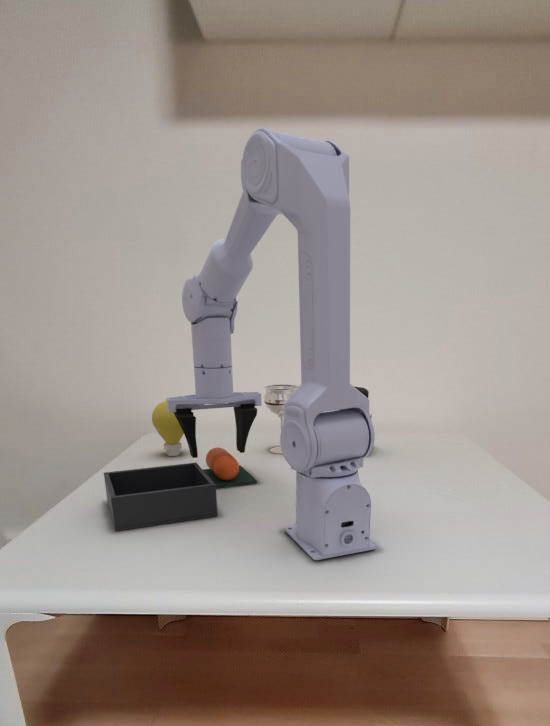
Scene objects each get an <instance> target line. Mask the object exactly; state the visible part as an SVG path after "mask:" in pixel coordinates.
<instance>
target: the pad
mask: <svg viewBox="0 0 550 726" xmlns="http://www.w3.org/2000/svg"><path fill="white" fill-rule="evenodd" d="M202 470H203V471H204V472H205V473H206V474H207V475H208V477H209V478H210V479H211V480H212V481H213V482H214V484H215V485H216V489H223V488H229V487H230V488H232V487H237V486H246V485H253V484H258V480H257V478H255V477H254V476H253V475H252V474H251V473H250V472H248V471H247V470H246V469H245V468H244V467H243V466H242V465H240V464H239V472H238V474H237V476H236V477H235V478H233V479H231V480H221V479H220V478H218V477H217V476H216V475H215V474H214V473H213V471H212V470H211V469H210V468H202Z"/></svg>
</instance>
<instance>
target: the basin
mask: <svg viewBox="0 0 550 726" xmlns="http://www.w3.org/2000/svg"><path fill="white" fill-rule="evenodd" d="M103 478H104V486H105V493H106V501H107V506H108V509H109V513H110V518H111V521H112V524H113V528H114V531H115V532H120V531H128V530H133V529H140V528H148V527H154V526H161V525H168V524H174V523H175V524H176V523H181V522H187V521H194V520H201V519H209V518H214V517H218V501H217V499H218V498H217V488H216V485H215V484H214V482H213V481H212V480H211V479H210V478H209V477H208V475H207V474H206V473H205V472H204V471H203V468H202V467H201V466H200V465H199V464H198V462H188V463H179V464H169V465H160V466H152V467H151V466H150V467H142V468H141V467H140V468H133V469H132V468H131V469H124V470H113V471H105V472H103Z"/></svg>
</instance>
